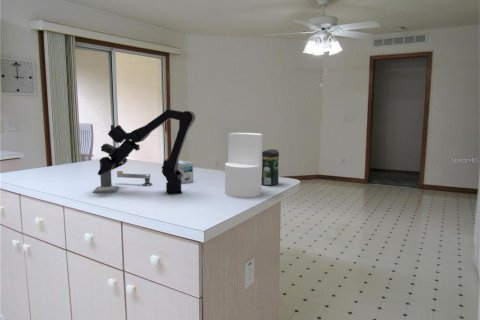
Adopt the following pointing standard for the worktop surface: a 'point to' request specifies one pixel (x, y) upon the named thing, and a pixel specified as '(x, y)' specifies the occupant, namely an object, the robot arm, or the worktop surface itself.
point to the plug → (106, 180)
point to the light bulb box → (186, 171)
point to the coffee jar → (270, 167)
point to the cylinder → (244, 165)
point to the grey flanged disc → (147, 182)
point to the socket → (106, 190)
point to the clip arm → (132, 175)
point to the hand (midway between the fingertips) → (102, 172)
